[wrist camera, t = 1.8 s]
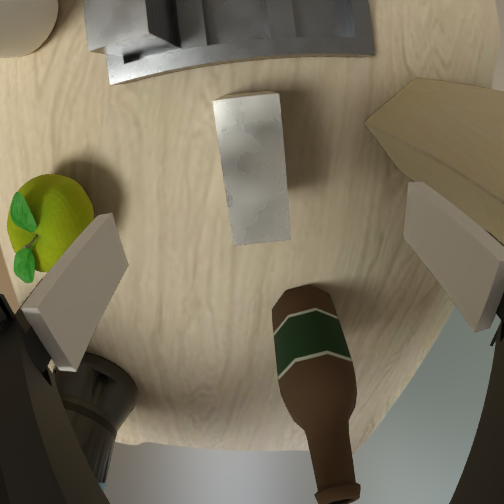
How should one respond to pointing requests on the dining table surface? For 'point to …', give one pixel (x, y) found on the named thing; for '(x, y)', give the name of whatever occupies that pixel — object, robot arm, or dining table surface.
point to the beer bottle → (318, 386)
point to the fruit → (46, 222)
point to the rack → (221, 32)
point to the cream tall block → (449, 144)
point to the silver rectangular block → (253, 166)
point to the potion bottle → (25, 25)
